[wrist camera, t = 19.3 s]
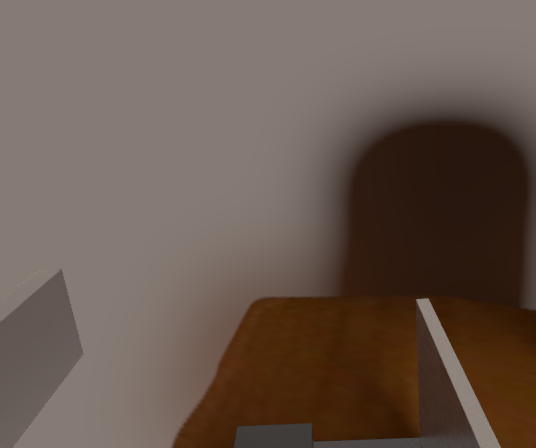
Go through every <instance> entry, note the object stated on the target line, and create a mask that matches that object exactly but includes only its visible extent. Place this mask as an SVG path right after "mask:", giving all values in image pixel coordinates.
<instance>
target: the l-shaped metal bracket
mask: <svg viewBox="0 0 536 448" xmlns="http://www.w3.org/2000/svg"><path fill="white" fill-rule="evenodd" d="M416 318H417V354H418V390H419V425H420V438H400V439H373V440H346V441H319V442H314V448H501V447H500V445H499V443H498V441H497V439H496V437H495V435H494V433H493V431H492V429H491V427H490V425H489V422H488V420H487V418H486V416H485V414H484V412H483V410H482V408H481V406H480V404H479V402H478V400H477V398H476V396H475V394H474V392H473V390H472V387H471V385H470V383H469V381H468V379H467V377H466V375H465V373H464V371H463V369H462V367H461V365H460V363H459V361H458V359H457V357H456V354H455V352H454V350H453V348H452V346H451V344H450V342H449V340H448V338H447V336H446V334H445V332H444V330H443V328H442V326H441V324H440V322H439V319H438V317H437V315H436V313H435V311H434V309H433V307H432V305H431V303H430V301H429V299H416Z"/></svg>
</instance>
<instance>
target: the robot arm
mask: <svg viewBox="0 0 536 448" xmlns="http://www.w3.org/2000/svg"><path fill="white" fill-rule="evenodd" d="M82 355H83V351H82V347H81V343H80V339H79V335H78V331H77V327H76V323H75V320H74V316H73V312H72V308H71V304H70V301H69V296H68V293H67V288H66V284H65V281H64V277H63V273H62V269H56V270H44V271H35V272H34V273H33V274H32V275H30V276H29V277H28V278H26V279H25V280H24V281H23V282H21V283H20V284H19V285H18V286H16V287H15V288H14V289H13V290H11V291H10V292H9V293H7V294H6V295H5V296H4V297H2V298H1V299H0V448H12V447H13V446H14V445H15V443H16V442H17V441H18V440H19V438H20V437H21V436H22V434H23V433H24V432H25V430H26V429H27V428H28V426H29V425H30V424H31V422H32V421H33V420H34V418H35V417H36V416H37V415H38V413H39V412H40V411H41V409H42V408H43V407H44V405H45V404H46V403H47V401H48V400H49V399H50V397H51V396H52V394H53V393H54V392H55V390H56V389H57V388H58V387H59V385H60V384H61V383H62V382H63V380H64V379H65V378H66V376H67V375H68V374H69V372H70V371H71V370H72V368H73V367H74V366H75V364H76V363H77V362H78V360H79V359H80V358H81V356H82Z"/></svg>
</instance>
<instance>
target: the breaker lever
mask: <svg viewBox="0 0 536 448" xmlns="http://www.w3.org/2000/svg"><path fill="white" fill-rule="evenodd" d="M234 448H314V440H313V431H312V423H308V424H283V425H259V426H238V427H237V432H236V437H235V443H234Z"/></svg>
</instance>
